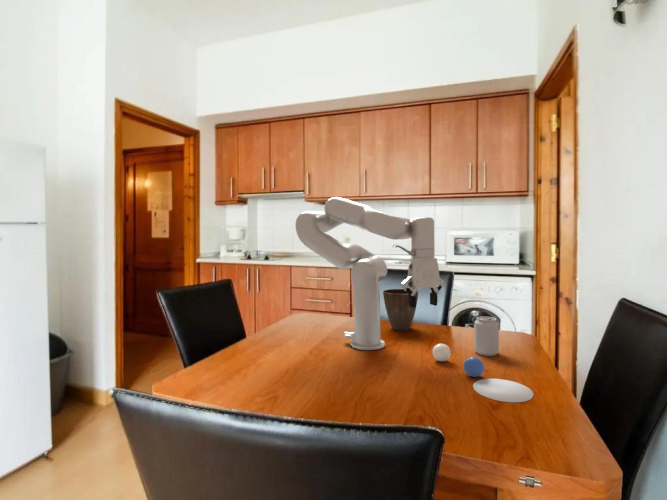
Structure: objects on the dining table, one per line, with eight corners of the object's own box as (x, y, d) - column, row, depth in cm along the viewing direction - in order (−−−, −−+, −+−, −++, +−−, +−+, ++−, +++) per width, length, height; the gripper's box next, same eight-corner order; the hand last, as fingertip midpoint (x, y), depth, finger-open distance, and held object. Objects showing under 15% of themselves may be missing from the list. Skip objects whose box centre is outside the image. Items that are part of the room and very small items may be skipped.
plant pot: (383, 323, 167) (382, 288, 166) (417, 324, 165) (416, 288, 164) (383, 332, 152) (382, 293, 151) (420, 333, 150) (420, 294, 149)
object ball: (462, 378, 102) (462, 359, 102) (464, 371, 108) (464, 353, 107) (484, 381, 100) (484, 361, 100) (484, 374, 105) (484, 355, 105)
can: (501, 357, 119) (501, 320, 119) (476, 356, 121) (476, 319, 120) (495, 350, 127) (495, 315, 126) (472, 349, 128) (472, 315, 128)
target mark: (471, 397, 91) (471, 396, 91) (474, 376, 104) (474, 375, 104) (536, 406, 85) (536, 405, 85) (530, 383, 98) (530, 382, 98)
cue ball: (431, 362, 115) (431, 345, 115) (433, 357, 120) (433, 340, 120) (449, 365, 113) (449, 347, 113) (451, 359, 118) (451, 342, 118)
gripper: (407, 255, 118) (407, 310, 118) (451, 253, 124) (451, 305, 125) (394, 254, 125) (395, 306, 125) (437, 252, 131) (437, 302, 132)
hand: (423, 305), depth 125 cm, fingers open, 7 cm apart
